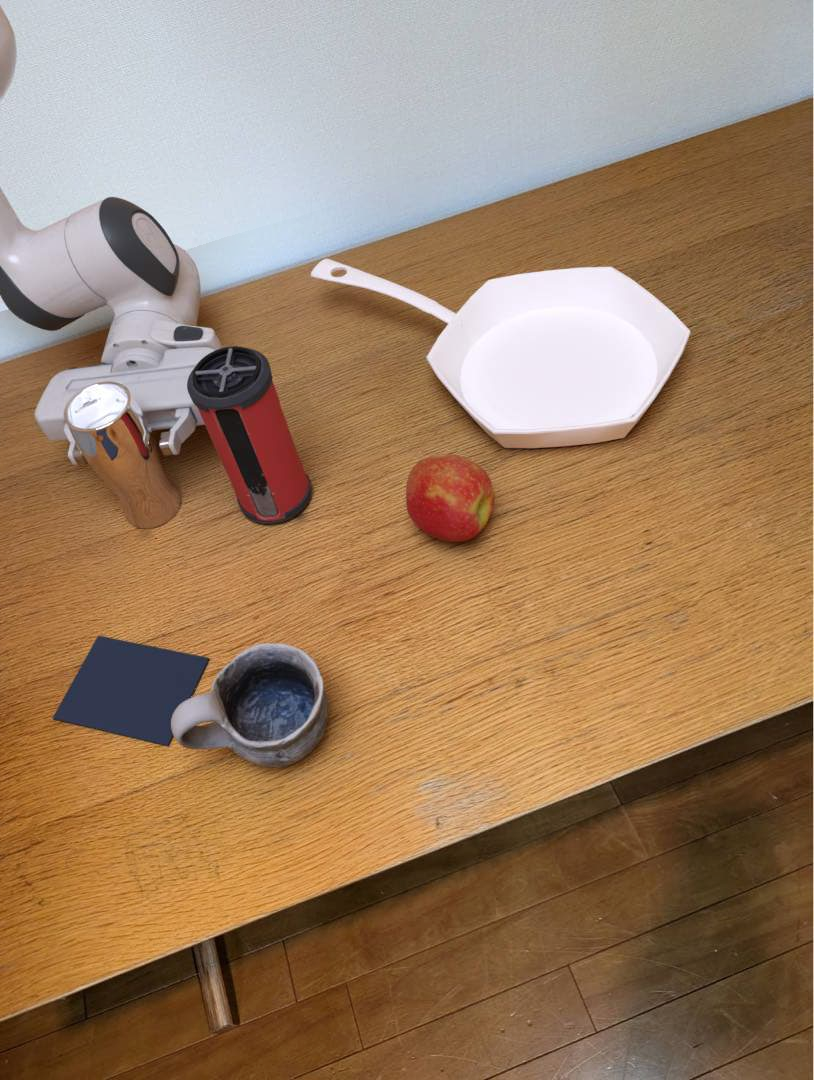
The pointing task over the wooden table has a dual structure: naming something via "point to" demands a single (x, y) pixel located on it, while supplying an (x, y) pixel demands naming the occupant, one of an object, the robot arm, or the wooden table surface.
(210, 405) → the speaker
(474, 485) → the apple
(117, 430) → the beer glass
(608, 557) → the wooden table surface
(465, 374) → the pan
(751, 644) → the wooden table surface
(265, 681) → the mug
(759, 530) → the wooden table surface
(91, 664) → the cloth
